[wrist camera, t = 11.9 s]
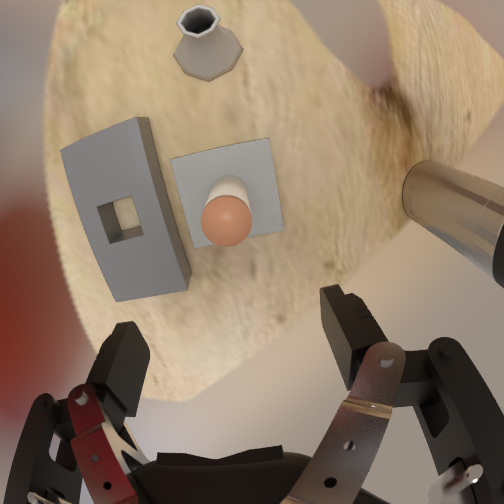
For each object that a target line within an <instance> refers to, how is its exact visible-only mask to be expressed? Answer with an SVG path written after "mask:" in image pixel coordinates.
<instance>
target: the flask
mask: <svg viewBox="0 0 504 504" xmlns="http://www.w3.org/2000/svg"><path fill="white" fill-rule="evenodd" d="M219 21H220V17H219V16H218V14H217V13H216V11H215V10H214V9H213V8H212V7H208V6H204V5H200V4H197V5H195V6H193V7H191V8H189V9H187V10H185V11H183V13H182V14H181V16H180V18H179V19H178V21H177V22H176V24H177V26H178V27H179V29H180V30H181V31H182V33H183V34H184V36H183V38H182V40H181V41H180V43H179V45H178V47H177V49H176V51H175V53H174V55H173V56H174V57H175V59H176V61H177V62H178V64H179V65H180V67H181V68H182V70H183V71H184V73H185V74H187V75H190V76H193V77H196V78H199V79H202V80H205V81H208V82H209V81H211V80H213V79H215V78H217V77H219V76H220V75H222V74H224V73H226V72H228V71H230V70H232V69H233V67H234V65H235V63H236V61H237V60H238V58H239V56H240V54H241V52H242V50H243V48H242V46H241V45H240V43H239V42H238V40H237V39H236V37H235V36H234V34H233V33H232V31H231V30H229V29H227V28H224V27H222V26H220V25H218V23H219Z"/></svg>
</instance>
